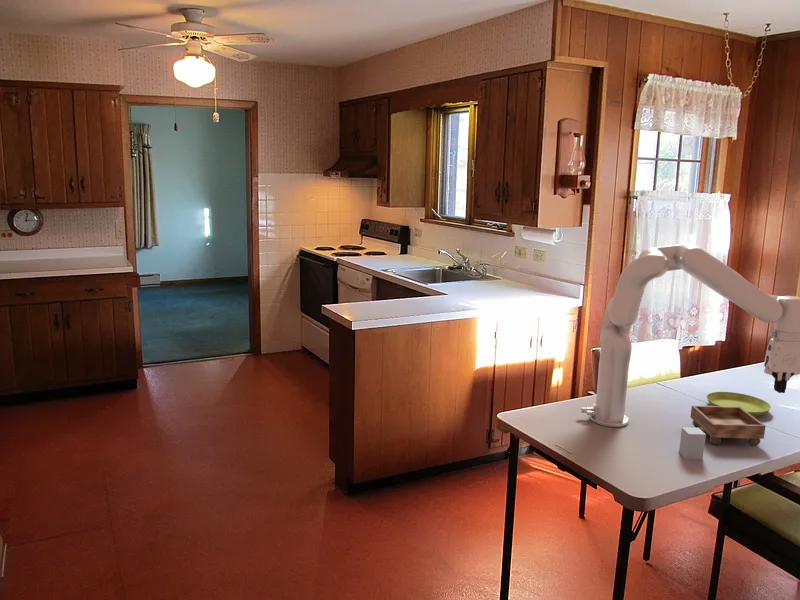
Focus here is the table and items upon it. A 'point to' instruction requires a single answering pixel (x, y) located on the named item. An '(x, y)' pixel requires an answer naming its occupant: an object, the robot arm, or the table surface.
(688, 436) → the block
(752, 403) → the saucer
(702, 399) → the table surface
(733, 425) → the cart
